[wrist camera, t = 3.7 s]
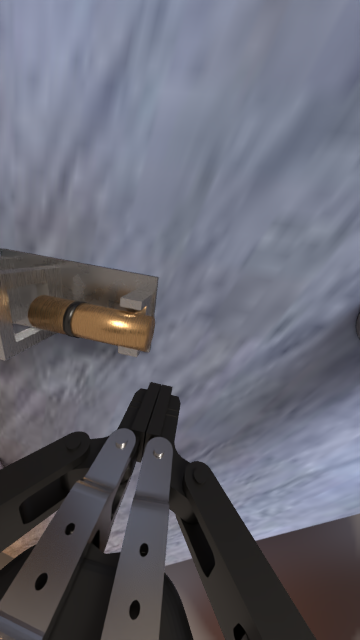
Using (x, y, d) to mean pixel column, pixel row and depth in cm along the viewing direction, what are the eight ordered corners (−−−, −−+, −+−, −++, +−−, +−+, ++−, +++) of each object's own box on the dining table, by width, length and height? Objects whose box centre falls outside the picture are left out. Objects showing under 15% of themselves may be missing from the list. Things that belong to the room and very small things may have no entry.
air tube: (156, 311, 22) (145, 323, 18) (152, 342, 24) (142, 359, 20) (55, 290, 23) (24, 298, 19) (57, 321, 25) (29, 335, 21)
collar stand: (158, 277, 24) (127, 294, 15) (150, 350, 28) (120, 400, 19) (4, 248, 26) (-113, 247, 16) (16, 321, 30) (-72, 354, 20)
